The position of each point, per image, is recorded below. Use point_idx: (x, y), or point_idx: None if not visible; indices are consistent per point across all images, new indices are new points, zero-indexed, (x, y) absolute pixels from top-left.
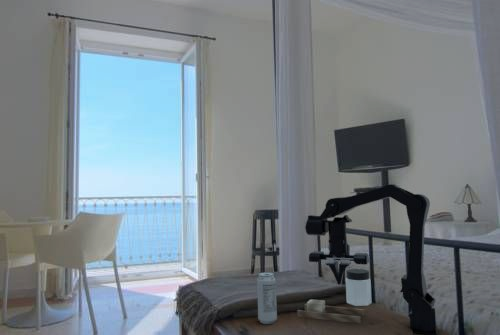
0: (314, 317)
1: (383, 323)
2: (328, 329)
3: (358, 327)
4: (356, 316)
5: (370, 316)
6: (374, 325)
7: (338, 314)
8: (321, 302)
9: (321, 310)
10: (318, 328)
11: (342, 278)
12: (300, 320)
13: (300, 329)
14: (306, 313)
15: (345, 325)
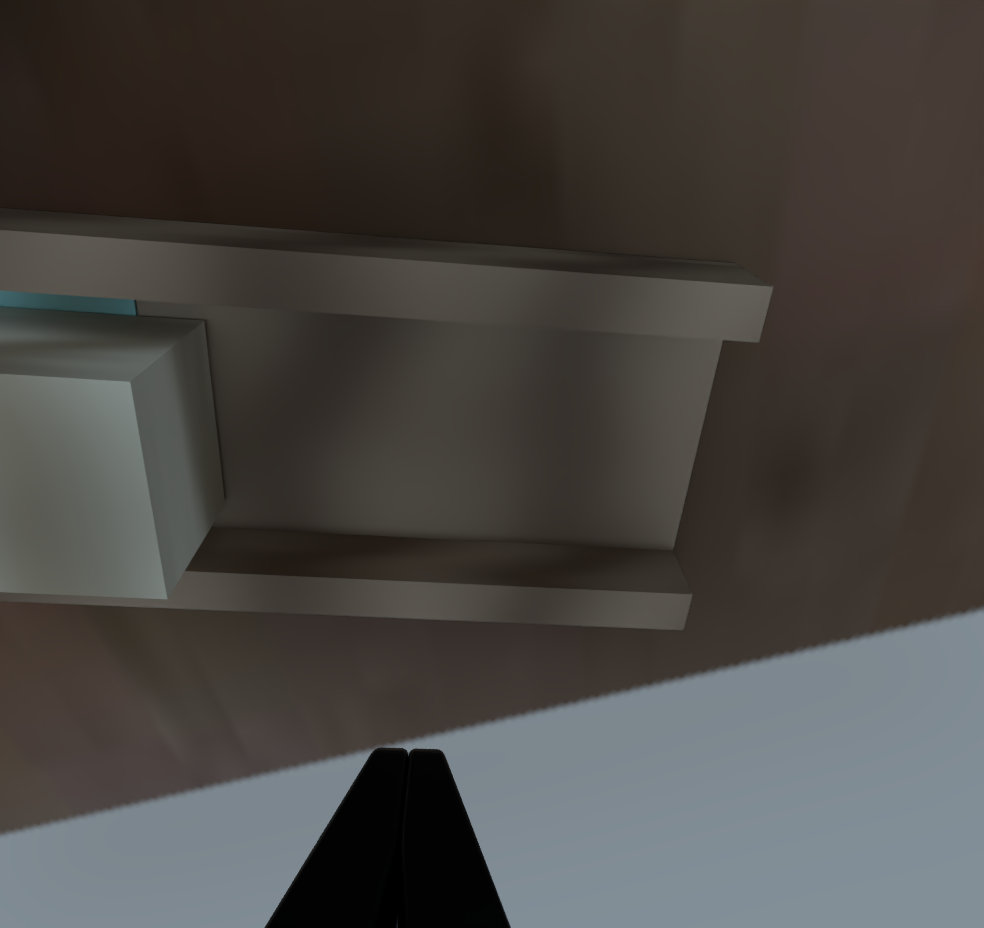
0: None
1: (918, 454)
2: (385, 727)
3: None
4: (648, 613)
5: (817, 221)
6: (807, 537)
7: (436, 597)
8: (122, 503)
9: (196, 547)
10: (295, 728)
11: (490, 898)
12: None
13: (160, 779)
14: None
15: None
